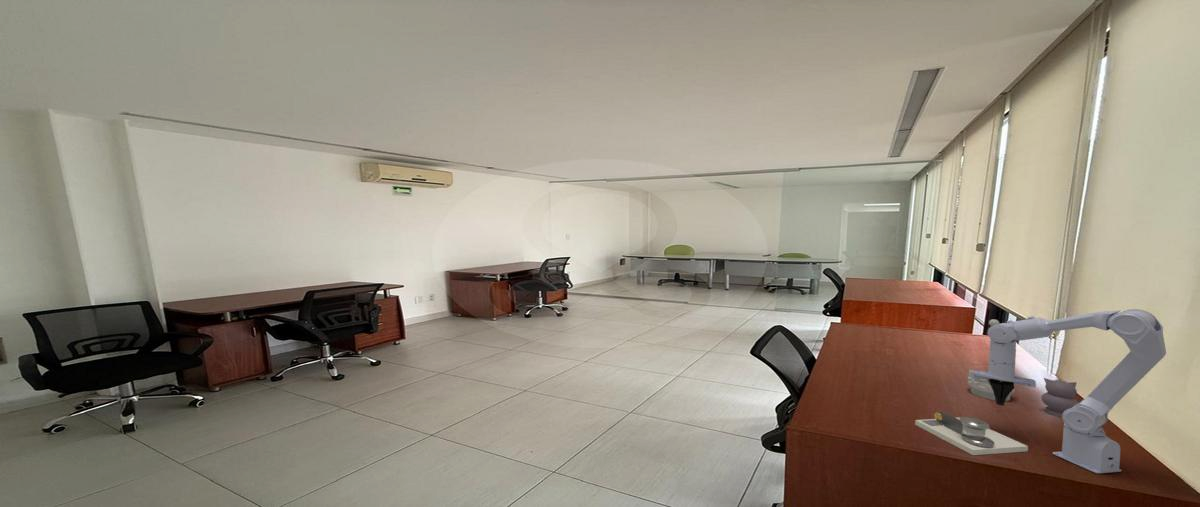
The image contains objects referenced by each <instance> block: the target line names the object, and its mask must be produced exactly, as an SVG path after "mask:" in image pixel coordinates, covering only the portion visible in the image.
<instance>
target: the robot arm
mask: <svg viewBox="0 0 1200 507" xmlns="http://www.w3.org/2000/svg"><path fill="white" fill-rule="evenodd" d="M1085 328H1096V329H1099V330H1102V331H1109V330H1111V331H1112V332H1113V333H1114V334H1116V335H1117V336H1118V337H1119V338H1121V339H1122V340H1123V341H1124V343H1125V344H1126V346H1127V347H1128V349H1129V352H1128V353H1127V354H1126V355H1125V356H1124V357H1123V358H1122V360H1121V361H1120V362H1119V363H1118V364H1116V366H1115V367H1114V368H1113V369H1112V370H1111V371H1110V372H1109V373H1108V374H1107V375H1106V376H1105V378H1103V379H1102V381H1101V382H1099V384H1098V385H1097V386H1096V387H1094V389H1093V390H1092V391H1091V392H1090V393H1089V394H1088V395H1087V396H1086V397H1085V398H1084V399H1082V400H1081V401H1080V402H1078V403H1077V404H1075V405H1074V406H1073V407H1072V408H1070V409H1067V410H1065V411H1064V412H1063V414H1062V421H1063V428H1062V429H1063V430H1062V445H1061V446H1062V447H1061V451H1053V452H1052V455H1054V456H1057V457H1059V458H1062V459H1064V460H1065V461H1068V462H1070V463H1072V464H1074V465H1077V466H1078V467H1081V468H1083V469H1085V470H1088V471H1090V472H1093V473H1095V474H1106V473H1119V472H1122V469H1120V463H1121V462H1120V460H1121V445H1120V443H1118V442H1117V441H1115V440H1113V439H1112V438H1109V437H1108V436H1107V435H1106V432H1105V430H1104V429H1103V425H1105V424H1107V422H1108V415H1109V413H1110V411H1112V410H1113V408H1114V407H1115V406H1116V405H1117V404H1118V403H1119V402H1120V401H1121V400H1122V399H1123V398H1124V397H1125V396H1127V394H1128V393H1129V392H1130V391H1131V390H1132V389H1133V388H1134V387H1135V386H1136V385H1137V384H1139V382H1140V381H1141V380H1142V379H1144V377H1145V376H1146V375H1147V374H1148V373H1150V371H1151V370H1152V369H1153V368H1154V367H1155V366H1157V364H1158V363H1160V362H1161V361H1162V359H1164V358H1165V357H1166V354H1167V350H1166V344H1165V338H1164V327H1163V325H1162V324H1161V321H1159V320H1158V319H1157V317H1156V316H1155V315H1154V314H1152V313H1150V312H1149V311H1147V310H1144V309H1138V308H1136V309H1135V308H1134V309H1133V308H1131V309H1127V310H1123V311H1122V312H1121V310H1109V311H1108V310H1106V311H1096V312H1090V313H1084V314H1078V315H1074V316H1068V317H1062V318H1058V319H1051V320H1049V319H1045V318H1043V317H1038V316H1037V317H1035V315H1034V316H1033V315H1032V316H1028V317H1026V319H1022V320H1015V321H1013V320H1007V321H1006V322H1002V323H1000V324H996V325H993V326H990V327H988V330H987V332H988V335H987V336H988V338H989V339H991V341H989V356H988V358H989V359H988V371H983V370H972V369H969V371H968V377H971V378H980V379H986V380H988V381H989V383H990V385H991V387H992V389H993V392H994V395H995V400H994V401H995V404H996V405H997V406H1004V405H1005V402H1006V401H1005V400H1006V398H1007V396H1008V395H1009V394H1010V392H1011V391H1012V390H1013V389H1014V387H1015V388H1016V386H1015V385H1020V386H1025V387H1030V388H1034V389H1036V385H1037V381H1036V380H1035V379H1034V378H1033V379H1032V378H1027V377H1023V376H1017V375H1015V373H1016V356H1017V354H1016V353H1017V341H1028V340H1029V341H1030V340H1035V339H1042V338H1049V337H1051V336H1052V335H1053V333H1054V332H1060V331H1067V330H1076V329H1085Z"/></svg>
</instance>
